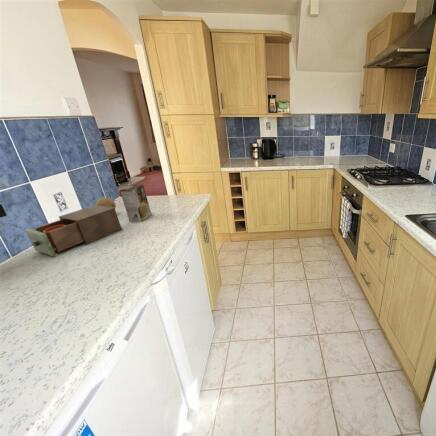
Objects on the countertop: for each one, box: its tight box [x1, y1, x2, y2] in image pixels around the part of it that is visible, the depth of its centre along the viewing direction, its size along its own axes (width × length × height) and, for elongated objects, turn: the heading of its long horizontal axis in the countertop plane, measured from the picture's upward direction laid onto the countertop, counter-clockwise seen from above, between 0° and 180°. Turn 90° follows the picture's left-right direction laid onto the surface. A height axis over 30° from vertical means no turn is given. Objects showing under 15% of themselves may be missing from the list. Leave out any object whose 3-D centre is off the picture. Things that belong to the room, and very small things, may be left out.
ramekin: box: [43, 225, 66, 247], centre depth 94 cm, size 7×7×6 cm
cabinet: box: [58, 204, 123, 245], centre depth 104 cm, size 15×13×11 cm
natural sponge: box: [94, 196, 117, 209], centre depth 124 cm, size 9×9×10 cm
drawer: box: [24, 219, 84, 257], centre depth 94 cm, size 15×11×9 cm
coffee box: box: [118, 184, 152, 222], centre depth 119 cm, size 9×6×16 cm
